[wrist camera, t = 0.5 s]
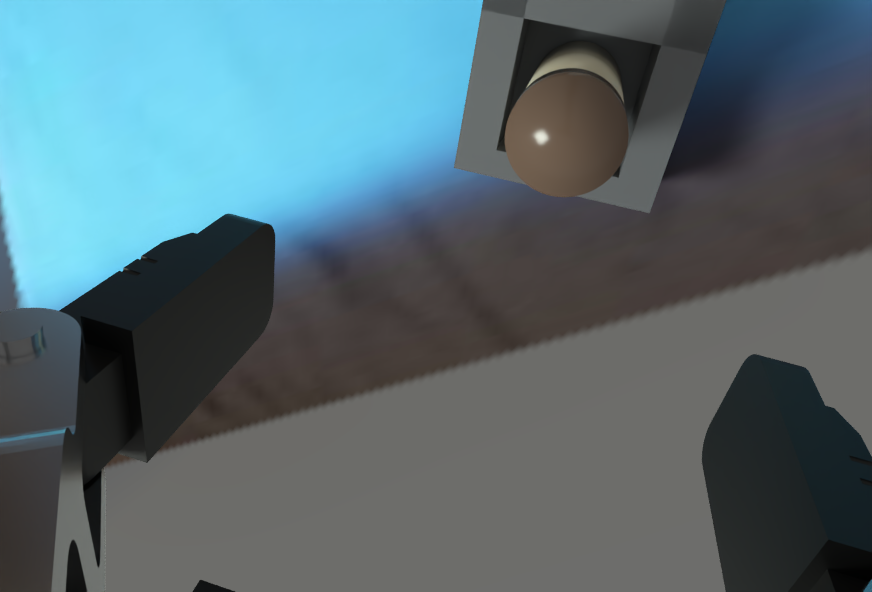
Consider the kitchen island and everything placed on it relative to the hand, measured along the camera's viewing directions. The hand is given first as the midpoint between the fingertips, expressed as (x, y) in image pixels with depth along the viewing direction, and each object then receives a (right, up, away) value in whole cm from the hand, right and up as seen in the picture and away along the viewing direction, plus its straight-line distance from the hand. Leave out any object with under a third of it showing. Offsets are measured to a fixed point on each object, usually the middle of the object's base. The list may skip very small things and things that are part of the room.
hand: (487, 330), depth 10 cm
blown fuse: (+6, +10, +18) cm, 21 cm away
